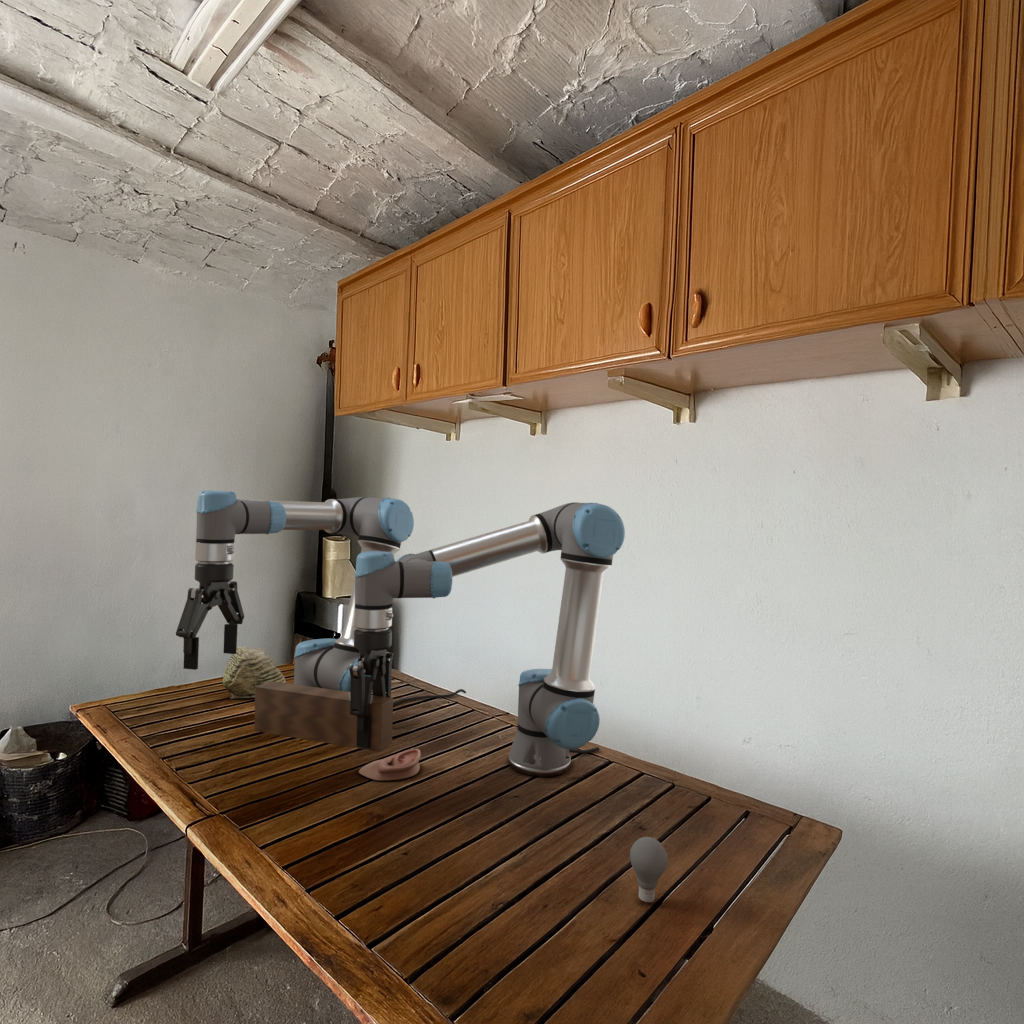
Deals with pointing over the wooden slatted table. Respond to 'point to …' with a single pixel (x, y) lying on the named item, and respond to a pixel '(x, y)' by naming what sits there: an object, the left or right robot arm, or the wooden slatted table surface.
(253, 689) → the fossil
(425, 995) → the wooden slatted table surface
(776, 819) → the wooden slatted table surface
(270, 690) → the bar
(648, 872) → the light bulb
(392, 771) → the anatomical model
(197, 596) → the left robot arm
